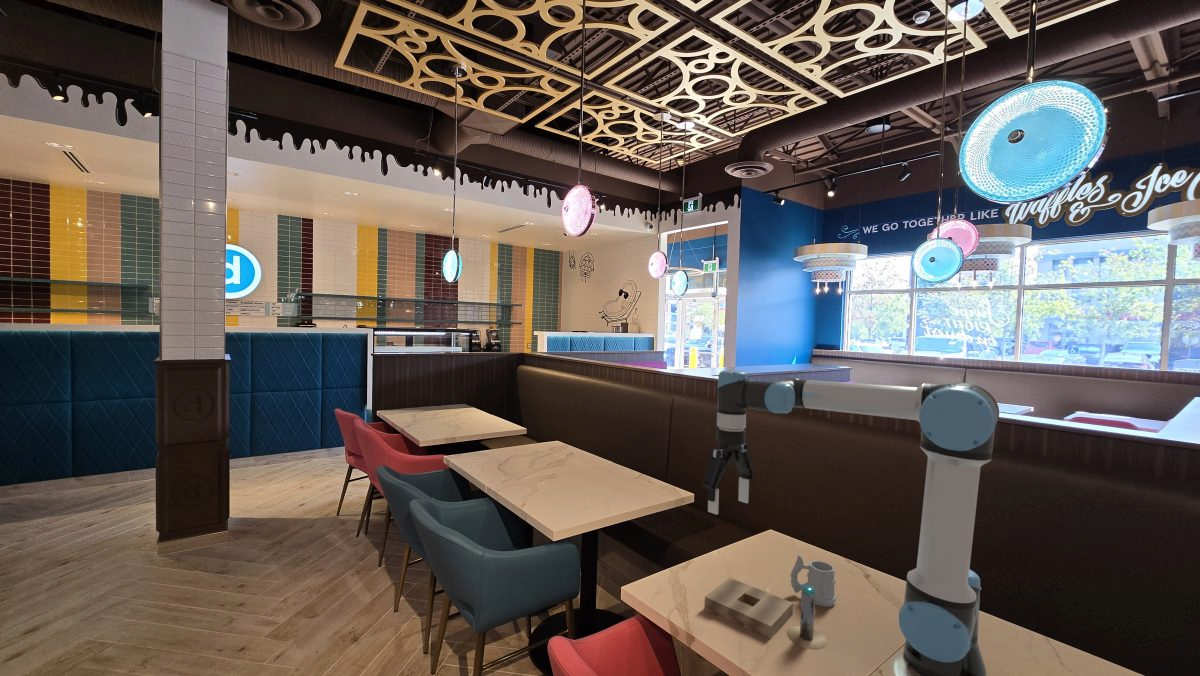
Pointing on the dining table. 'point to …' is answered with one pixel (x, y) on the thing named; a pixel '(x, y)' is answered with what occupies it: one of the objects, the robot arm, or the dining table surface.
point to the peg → (807, 612)
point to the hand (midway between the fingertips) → (728, 507)
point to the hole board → (749, 607)
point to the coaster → (816, 643)
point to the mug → (816, 580)
